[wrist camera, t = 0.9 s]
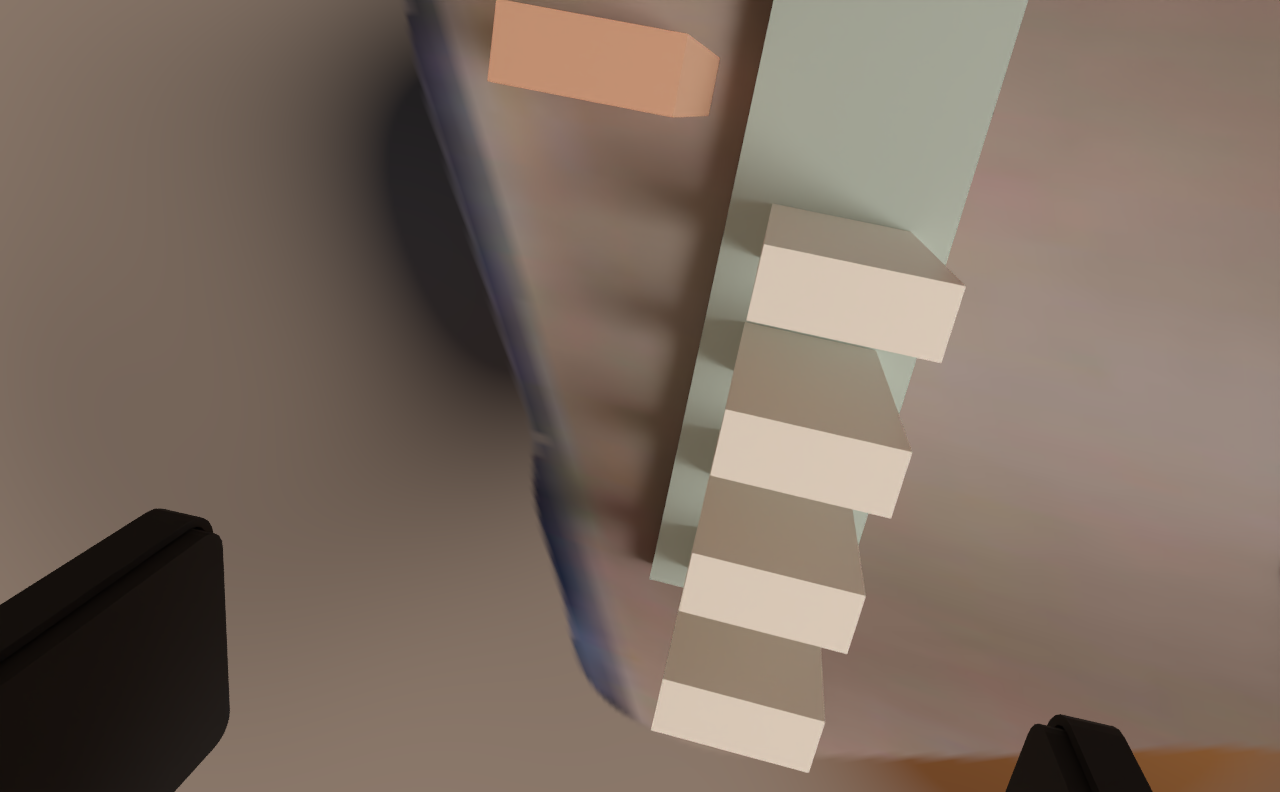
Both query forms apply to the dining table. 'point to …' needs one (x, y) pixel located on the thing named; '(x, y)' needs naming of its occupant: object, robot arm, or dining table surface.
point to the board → (841, 175)
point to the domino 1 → (601, 60)
